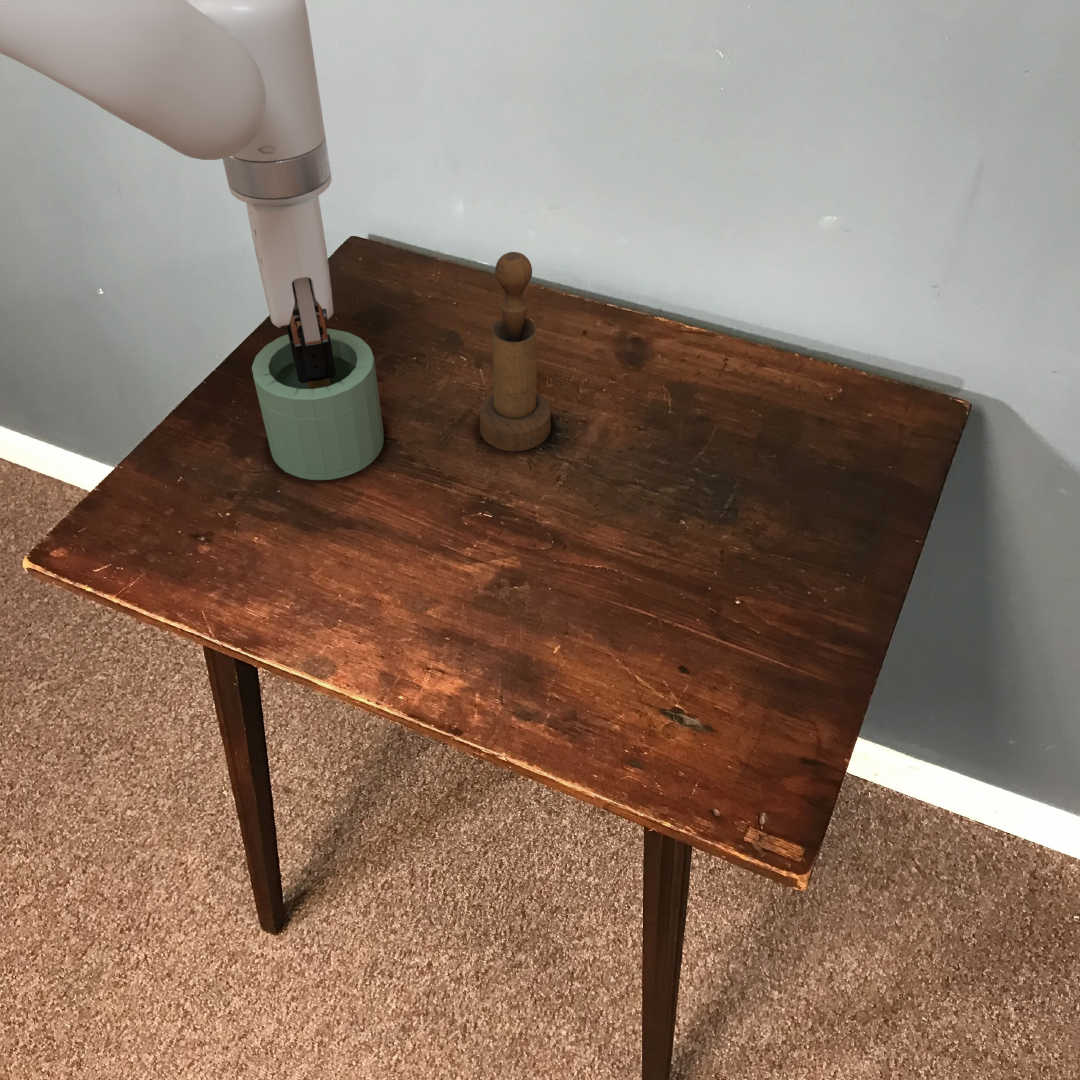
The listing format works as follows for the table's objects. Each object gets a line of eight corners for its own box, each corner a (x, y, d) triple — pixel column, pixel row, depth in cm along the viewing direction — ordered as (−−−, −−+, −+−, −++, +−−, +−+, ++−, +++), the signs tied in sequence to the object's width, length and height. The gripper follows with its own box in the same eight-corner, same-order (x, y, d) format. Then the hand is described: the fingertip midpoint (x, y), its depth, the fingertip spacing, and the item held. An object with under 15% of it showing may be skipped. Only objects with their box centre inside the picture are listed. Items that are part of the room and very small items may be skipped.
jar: (278, 490, 90) (259, 408, 84) (265, 419, 97) (246, 339, 91) (393, 468, 92) (383, 386, 86) (372, 400, 99) (361, 320, 93)
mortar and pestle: (520, 461, 93) (519, 286, 80) (465, 433, 96) (455, 259, 83) (564, 425, 97) (569, 251, 84) (510, 398, 100) (507, 227, 87)
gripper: (215, 125, 80) (260, 326, 93) (235, 222, 70) (282, 434, 83) (312, 113, 82) (343, 312, 95) (346, 207, 71) (375, 417, 84)
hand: (314, 368), depth 89 cm, fingers closed
